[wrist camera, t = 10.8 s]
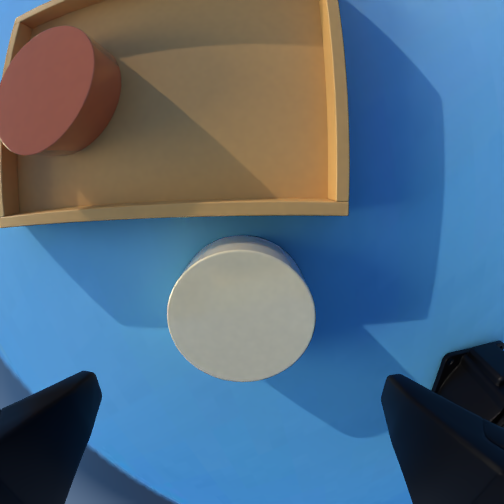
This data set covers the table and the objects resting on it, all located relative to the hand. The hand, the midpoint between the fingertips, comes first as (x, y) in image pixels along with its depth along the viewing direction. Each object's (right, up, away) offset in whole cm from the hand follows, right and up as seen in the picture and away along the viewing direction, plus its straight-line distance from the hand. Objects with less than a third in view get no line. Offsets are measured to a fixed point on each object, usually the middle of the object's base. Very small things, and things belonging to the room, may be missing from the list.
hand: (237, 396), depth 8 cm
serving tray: (-5, +12, +5) cm, 14 cm away
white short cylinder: (0, +2, +8) cm, 8 cm away
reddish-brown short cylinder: (-9, +12, +4) cm, 16 cm away
